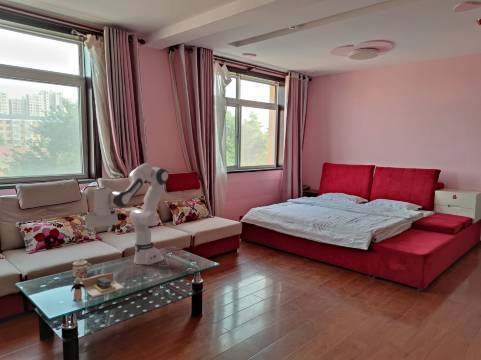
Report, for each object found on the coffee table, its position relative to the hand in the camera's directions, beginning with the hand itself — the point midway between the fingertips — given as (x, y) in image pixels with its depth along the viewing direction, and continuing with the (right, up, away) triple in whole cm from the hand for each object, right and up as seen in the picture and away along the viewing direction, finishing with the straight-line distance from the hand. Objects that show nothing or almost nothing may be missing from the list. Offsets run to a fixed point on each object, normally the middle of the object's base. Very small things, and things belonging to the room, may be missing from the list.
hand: (102, 233), depth 224 cm
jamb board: (+3, -30, -12) cm, 33 cm away
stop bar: (+8, -30, -18) cm, 36 cm away
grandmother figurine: (0, -32, -32) cm, 45 cm away
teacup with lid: (-14, -29, +3) cm, 32 cm away
